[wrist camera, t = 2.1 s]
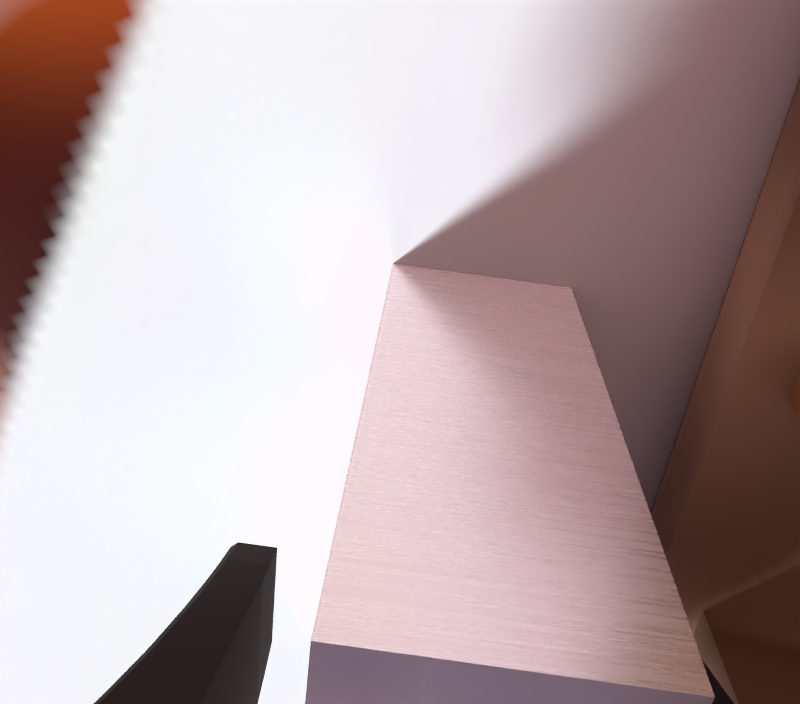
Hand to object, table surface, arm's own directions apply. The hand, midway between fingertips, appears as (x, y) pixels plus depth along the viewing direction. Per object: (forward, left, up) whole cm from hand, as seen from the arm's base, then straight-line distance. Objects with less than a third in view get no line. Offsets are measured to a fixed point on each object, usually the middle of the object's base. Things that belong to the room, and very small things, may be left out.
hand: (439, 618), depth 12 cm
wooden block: (0, 0, -3) cm, 3 cm away
